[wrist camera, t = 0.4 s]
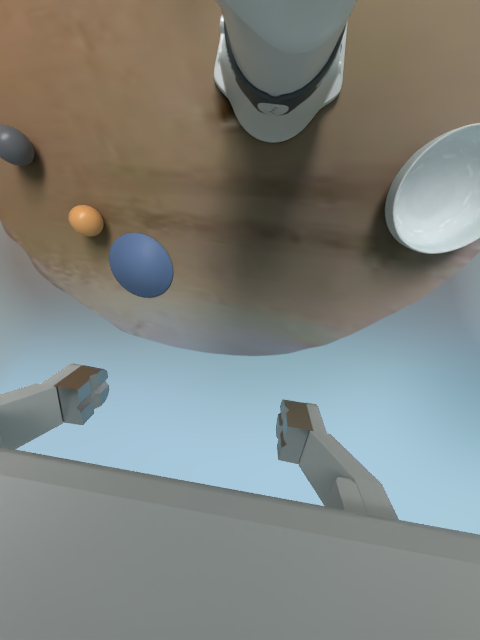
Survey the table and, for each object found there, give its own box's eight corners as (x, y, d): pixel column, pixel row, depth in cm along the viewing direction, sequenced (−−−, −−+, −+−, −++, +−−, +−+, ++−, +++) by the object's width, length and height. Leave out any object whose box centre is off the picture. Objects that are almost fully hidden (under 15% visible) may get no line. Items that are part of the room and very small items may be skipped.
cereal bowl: (379, 259, 45) (398, 269, 38) (365, 166, 38) (386, 159, 32) (482, 224, 40) (522, 229, 34) (487, 111, 34) (538, 92, 27)
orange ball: (79, 203, 45) (57, 203, 40) (107, 206, 44) (87, 207, 40) (85, 232, 47) (65, 236, 42) (111, 236, 47) (94, 240, 42)
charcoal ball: (6, 128, 40) (-29, 118, 35) (37, 131, 40) (6, 122, 35) (18, 165, 42) (-14, 161, 38) (46, 169, 42) (18, 165, 38)
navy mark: (104, 228, 46) (103, 228, 46) (171, 237, 46) (171, 237, 46) (115, 292, 53) (114, 293, 53) (174, 300, 53) (173, 300, 53)
